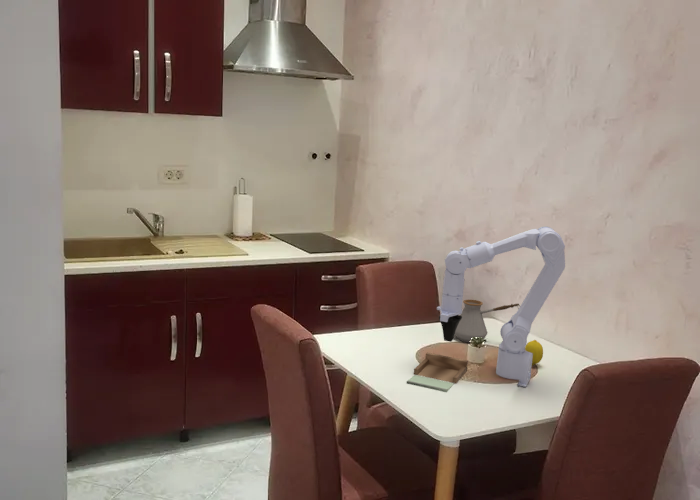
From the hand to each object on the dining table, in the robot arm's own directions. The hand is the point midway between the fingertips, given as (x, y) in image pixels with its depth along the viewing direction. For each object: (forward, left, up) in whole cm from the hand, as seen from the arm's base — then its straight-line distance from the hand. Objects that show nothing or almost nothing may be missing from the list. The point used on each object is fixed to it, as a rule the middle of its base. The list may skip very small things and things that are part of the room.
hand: (448, 340), depth 187 cm
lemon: (-21, -21, -10) cm, 31 cm away
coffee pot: (-3, -35, -10) cm, 36 cm away
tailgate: (0, +11, -8) cm, 14 cm away
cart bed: (0, +5, -9) cm, 11 cm away
